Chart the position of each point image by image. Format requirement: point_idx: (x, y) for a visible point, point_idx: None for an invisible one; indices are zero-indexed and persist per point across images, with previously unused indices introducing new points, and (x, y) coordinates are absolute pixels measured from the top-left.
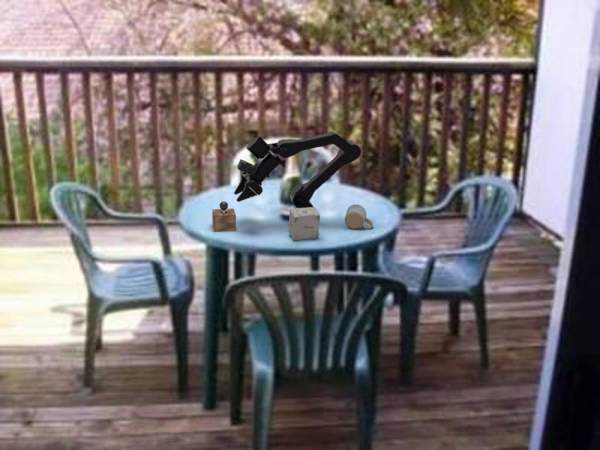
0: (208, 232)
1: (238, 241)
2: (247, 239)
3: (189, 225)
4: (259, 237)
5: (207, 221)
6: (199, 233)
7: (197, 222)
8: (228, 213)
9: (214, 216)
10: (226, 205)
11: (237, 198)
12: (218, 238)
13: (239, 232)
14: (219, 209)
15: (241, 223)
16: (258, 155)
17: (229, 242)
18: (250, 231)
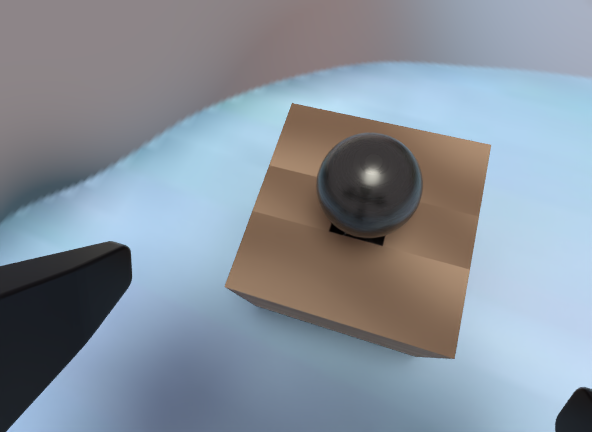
0: None
1: (65, 239)
2: None
3: (473, 74)
4: (43, 406)
5: (529, 194)
6: (306, 87)
7: (523, 130)
8: (302, 238)
9: (289, 110)
10: (320, 195)
11: (92, 250)
12: (175, 153)
13: (209, 313)
14: (463, 203)
15: (401, 422)
16: None
17: (82, 185)
18: (189, 402)
